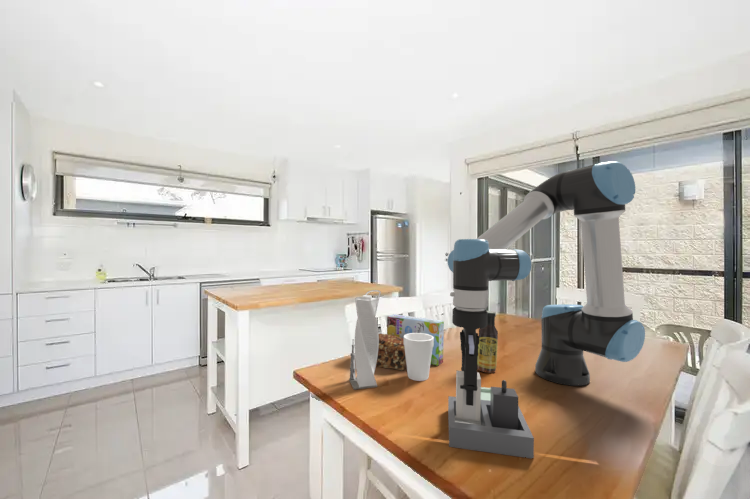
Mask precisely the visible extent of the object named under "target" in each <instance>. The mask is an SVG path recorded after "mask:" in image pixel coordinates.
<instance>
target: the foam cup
mask: <svg viewBox="0 0 750 499" xmlns="http://www.w3.org/2000/svg"><path fill="white" fill-rule="evenodd" d="M433 346H434V337H433V336H431V335H429V334H424V333H409V334H406V335H404V347H405V356H406V365H407V368H406V371H407V372H406V373H407V377H408V379H410V380H413V381H418V382H424V381H427V380H428V379H429V376H430V370H431V364H430V363H431V356H432V349H433Z"/></svg>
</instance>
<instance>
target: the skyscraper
mask: <svg viewBox="0 0 750 499" xmlns="http://www.w3.org/2000/svg"><path fill="white" fill-rule="evenodd" d="M374 292H377V293H378V297H373V295H370V293H374ZM381 293H382V291H381V290H378V289H371V290H368V291H367V292H365V294H363V295H362V296H357V297H355V298H354V302H355V309H356V314H357V318H356V324H355V330H354V338H353V339H352V344H351V353H350V364H349V365H350V366H349V378H348V380H349V382H350V385H351V388H352V389H353V390H363V389H372V388H378V384H377V381H376V378H375V371H376V367H377V366H376V363H377V357H378V348H379V334H380V333H379V326H378V322H377V317H376V315H377V311H378V305H379V299H380V296H381Z"/></svg>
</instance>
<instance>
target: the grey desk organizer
mask: <svg viewBox="0 0 750 499" xmlns="http://www.w3.org/2000/svg"><path fill="white" fill-rule="evenodd" d="M507 384H508V382H507V381H506V380H505V379H503V380H501V387H498V386H490V388H491V401H488V400H481V411H480V421H475V420H467V419H459V418H456V396H449V395H448V401H447V402H448V406H447V407H448V408H447V410H448V412H447V413H448V415H447V416H448V418H447V419H448V447H449V448H456V449H463V450H471V451H476V452H477V451H478V452H485V453H491V454H492V453H493V454H498V455H503V456H505V455H506V456H512V457H520V458H525V457H526V458H525V459H532V458H534V457H535V454H534V453H535V452H534V451H535V450H534V449H535V448H534V447H535V437H534V435H533V433H532V431H531V429H530V427H529V425H528V423H527V421H526V419H525V416H524V414H523V412H522V410H521V408H520V405H519V395H518V394H517V391H516V389H515V388H507Z"/></svg>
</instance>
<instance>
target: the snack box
mask: <svg viewBox="0 0 750 499" xmlns="http://www.w3.org/2000/svg"><path fill="white" fill-rule="evenodd" d="M386 318H387V320H386V334H388V335H395V336H397V337H401V338H404V335H406V334H409V333H424V334H429V335H431V336H433V337H434V346H433V349H432V356H431V363H430V365H432V366H439V365H441V364H442V363H444V341H445V340H444V338H445V337H444V336H445V335H444V334H445V332H444V331H445V330H444V327H445V321H444V320H439V319H432V318H425V317H418V316H417V317H416V316H412V315H411V316H409V315H402V314H394V313H393V314H390V315H387V316H386Z"/></svg>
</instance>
